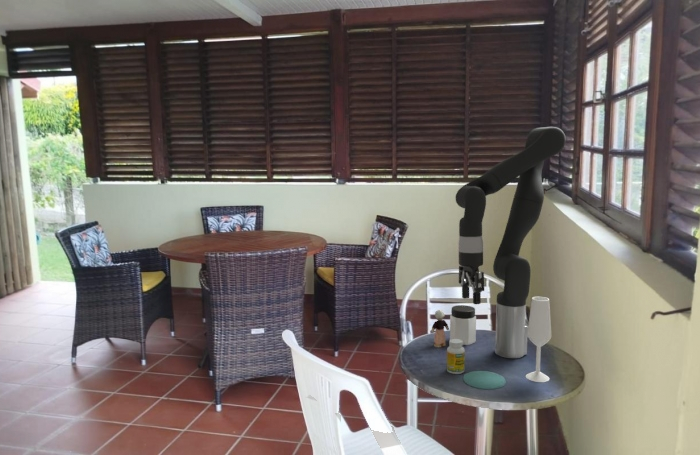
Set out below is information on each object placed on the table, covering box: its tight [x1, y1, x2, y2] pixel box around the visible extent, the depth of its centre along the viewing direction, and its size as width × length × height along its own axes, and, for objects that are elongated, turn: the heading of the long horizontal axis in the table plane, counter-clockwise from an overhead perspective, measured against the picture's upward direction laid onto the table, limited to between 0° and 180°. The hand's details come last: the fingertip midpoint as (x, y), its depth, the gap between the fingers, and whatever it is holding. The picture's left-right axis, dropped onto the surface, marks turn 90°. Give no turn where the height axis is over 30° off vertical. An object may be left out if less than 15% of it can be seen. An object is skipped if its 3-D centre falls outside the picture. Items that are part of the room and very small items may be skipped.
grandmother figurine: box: [430, 309, 450, 348], centre depth 187 cm, size 8×4×13 cm, turn 133°
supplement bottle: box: [446, 339, 466, 375], centre depth 166 cm, size 5×5×10 cm
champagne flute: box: [525, 296, 552, 383], centre depth 160 cm, size 7×7×24 cm
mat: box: [462, 370, 507, 390], centre depth 160 cm, size 12×12×1 cm
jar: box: [449, 304, 477, 346], centre depth 192 cm, size 9×8×12 cm
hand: (471, 301), depth 172 cm, fingers open, 8 cm apart
